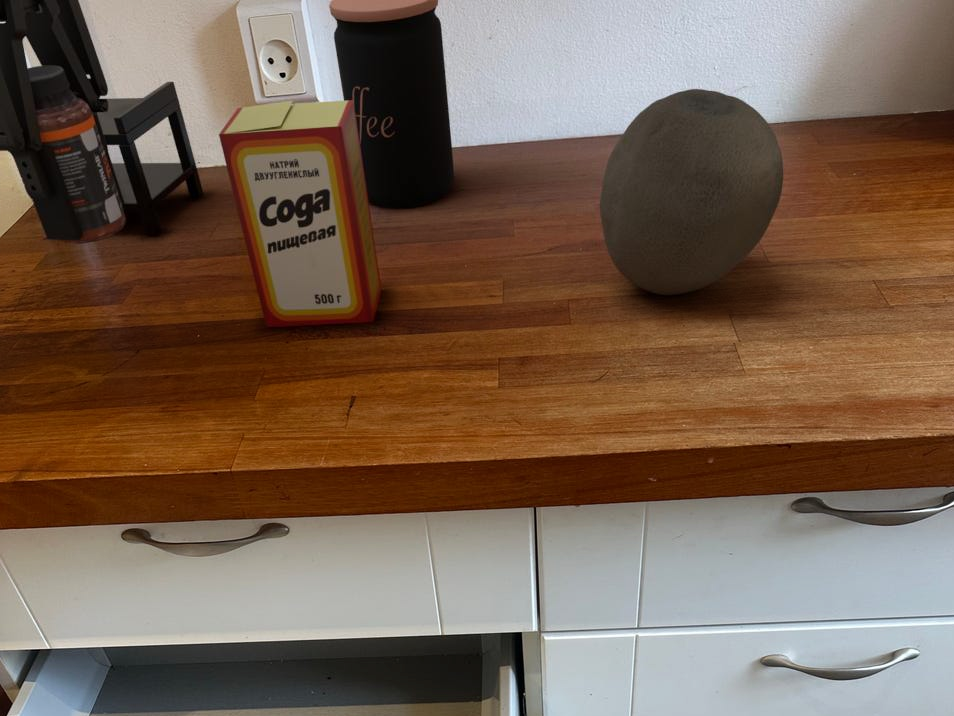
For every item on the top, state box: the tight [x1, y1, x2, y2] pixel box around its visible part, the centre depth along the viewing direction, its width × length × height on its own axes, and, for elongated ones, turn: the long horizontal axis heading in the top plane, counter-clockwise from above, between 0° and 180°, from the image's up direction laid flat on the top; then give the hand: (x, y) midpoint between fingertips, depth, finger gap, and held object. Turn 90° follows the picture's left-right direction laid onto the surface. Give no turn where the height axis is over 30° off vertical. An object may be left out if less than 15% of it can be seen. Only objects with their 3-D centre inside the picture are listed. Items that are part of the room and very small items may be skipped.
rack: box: [97, 81, 205, 237], centre depth 101 cm, size 12×12×12 cm
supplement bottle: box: [20, 65, 127, 245], centre depth 72 cm, size 6×6×11 cm
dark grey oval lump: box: [599, 88, 784, 296], centre depth 78 cm, size 14×14×15 cm
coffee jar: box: [328, 0, 455, 208], centre depth 98 cm, size 11×11×18 cm
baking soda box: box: [218, 99, 383, 328], centre depth 79 cm, size 10×6×16 cm
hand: (86, 219), depth 75 cm, fingers closed on supplement bottle, 6 cm apart
